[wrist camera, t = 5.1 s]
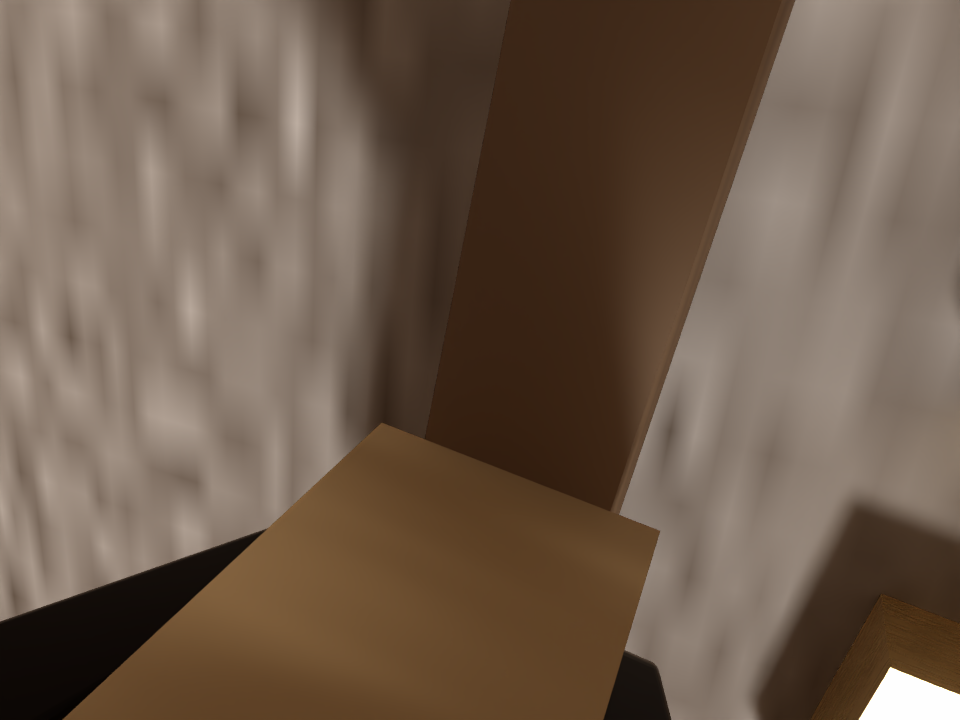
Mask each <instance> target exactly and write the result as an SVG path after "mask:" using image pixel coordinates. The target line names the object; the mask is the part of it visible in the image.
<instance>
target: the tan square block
mask: <svg viewBox="0 0 960 720" xmlns="http://www.w3.org/2000/svg"><path fill="white" fill-rule="evenodd" d="M810 720H960V624H959V623H957V622H954V621H952V620H949V619H946V618H944V617H941V616H939V615H936V614H933V613H931V612H928V611H925V610H923V609H920V608H918V607H915V606H912V605H910V604H907V603H905V602H902V601H899V600H897V599H894V598H891V597H889V596H886V595H884V594H881V595H880V597H879V598H878V600H877V602H876V604H875V606H874V607H873V609H872V611H871V613H870V614H869V616H868V618H867V620H866V622H865V623H864V625H863V627H862V629H861V630H860V632H859V634H858V636H857V638H856V639H855V641H854V643H853V645H852V646H851V648H850V650H849V652H848V654H847V655H846V657H845V659H844V661H843V662H842V664H841V666H840V668H839V670H838V671H837V673H836V675H835V677H834V678H833V680H832V682H831V684H830V686H829V687H828V689H827V691H826V693H825V694H824V696H823V698H822V700H821V702H820V703H819V705H818V707H817V709H816V710H815V712H814V714H813V716H812V718H811V719H810Z"/></svg>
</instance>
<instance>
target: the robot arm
mask: <svg viewBox="0 0 960 720" xmlns="http://www.w3.org/2000/svg"><path fill="white" fill-rule="evenodd" d="M267 529H268V528H267ZM267 529H265V530H262V531H259V532H256V533H253V534H250V535H247V536H244V537H242V538H239V539H236V540H233V541H230V542H227V543H224V544H221V545H219V546H216V547H213V548H210V549H207V550H204V551H201V552H199V553H196V554H193V555H190V556H187V557H184V558H181V559H178V560H176V561H173V562H170V563H167V564H164V565H161V566H158V567H155V568H153V569H150V570H147V571H144V572H141V573H138V574H135V575H133V576H130V577H127V578H124V579H121V580H118V581H115V582H112V583H110V584H107V585H104V586H101V587H98V588H95V589H92V590H89V591H87V592H84V593H81V594H78V595H75V596H72V597H69V598H67V599H64V600H61V601H58V602H55V603H52V604H49V605H46V606H44V607H41V608H38V609H35V610H32V611H29V612H26V613H24V614H21V615H18V616H15V617H12V618H9V619H6V620H3V621H1V622H0V720H63V719H64V718H65V717H66V716H67V715H68V714H69V713H70V712H71V711H72V710H73V709H74V708H76V707H77V706H78V705H79V704H80V703H81V702H82V701H83V700H84V699H85V698H86V697H87V696H88V695H90V694H91V693H92V692H93V691H94V690H95V689H96V688H97V687H98V686H99V685H100V684H101V683H102V682H104V681H105V680H106V679H107V678H108V677H109V676H110V675H111V674H112V673H113V672H114V671H115V670H116V669H117V668H119V667H120V666H121V665H122V664H123V663H124V662H125V661H126V660H127V659H128V658H129V657H130V656H131V655H133V654H134V653H135V652H136V651H137V650H138V649H139V648H140V647H141V646H142V645H143V644H144V643H145V642H147V641H148V640H149V639H150V638H151V637H152V636H153V635H154V634H155V633H156V632H157V631H158V630H159V629H160V628H162V627H163V626H164V625H165V624H166V623H167V622H168V621H169V620H170V619H171V618H172V617H173V616H174V615H176V614H177V613H178V612H179V611H180V610H181V609H182V608H183V607H184V606H185V605H186V604H187V603H188V602H189V601H191V600H192V599H193V598H194V597H195V596H196V595H197V594H198V593H199V592H200V591H201V590H202V589H203V588H205V587H206V586H207V585H208V584H209V583H210V582H211V581H212V580H213V579H214V578H215V577H216V576H217V575H219V574H220V573H221V572H222V571H223V570H224V569H225V568H226V567H227V566H228V565H229V564H230V563H231V562H232V561H234V560H235V559H236V558H237V557H238V556H239V555H240V554H241V553H242V552H243V551H244V550H245V549H246V548H248V547H249V546H250V545H251V544H252V543H253V542H254V541H255V540H256V539H257V538H258V537H259V536H260V535H262V534H263V533H264V532H265V531H266V530H267ZM603 720H671V716H670V712H669V708H668V705H667V701H666V697H665V693H664V689H663V685H662V681H661V677H660V674H659V670H658V668H657V666H656V665H655V664H654V663H653V662H651V661H648V660H646V659H644V658H641V657H639V656H637V655H634V654H632V653H630V652H628V651H625V650H624V653H623V656H622V659H621V663H620V666H619V669H618V673H617V676H616V679H615V683H614V686H613V689H612V693H611V696H610V699H609V703H608V706H607V709H606V713H605V716H604V719H603Z"/></svg>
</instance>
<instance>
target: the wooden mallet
mask: <svg viewBox="0 0 960 720" xmlns="http://www.w3.org/2000/svg"><path fill="white" fill-rule="evenodd" d="M794 2H795V0H511V2H510V7H509V12H508V17H507V22H506V27H505V33H504V38H503V43H502V48H501V53H500V58H499V63H498V68H497V73H496V78H495V84H494V89H493V94H492V99H491V104H490V109H489V114H488V119H487V124H486V129H485V135H484V140H483V145H482V150H481V155H480V160H479V165H478V170H477V175H476V180H475V186H474V191H473V196H472V201H471V206H470V211H469V216H468V221H467V226H466V231H465V237H464V242H463V247H462V252H461V257H460V262H459V267H458V272H457V277H456V282H455V288H454V293H453V298H452V303H451V308H450V313H449V318H448V323H447V328H446V333H445V339H444V344H443V349H442V354H441V359H440V364H439V369H438V374H437V379H436V384H435V390H434V395H433V400H432V405H431V410H430V415H429V420H428V425H427V430H426V436H425V439H422V438H420V437H417V436H415V435H412V434H410V433H407V432H404V431H402V430H399V429H397V428H394V427H392V426H389V425H386V424H384V423H381V424H380V425H379V426H378V427H377V428H375V429H374V430H373V431H372V432H371V433H370V434H369V435H368V436H367V437H366V438H365V439H364V440H363V441H361V442H360V443H359V444H358V445H357V446H356V447H355V448H354V449H353V450H352V451H351V452H350V453H349V454H347V455H346V456H345V457H344V458H343V459H342V460H341V461H340V462H339V463H338V464H337V465H336V466H335V467H334V468H332V469H331V470H330V471H329V472H328V473H327V474H326V475H325V476H324V477H323V478H322V479H321V480H320V481H318V482H317V483H316V484H315V485H314V486H313V487H312V488H311V489H310V490H309V491H308V492H307V493H306V494H304V495H303V496H302V497H301V498H300V499H299V500H298V501H297V502H296V503H295V504H294V505H293V506H292V507H291V508H289V509H288V510H287V511H286V512H285V513H284V514H283V515H282V516H281V517H280V518H279V519H278V520H277V521H275V522H274V523H273V524H272V525H271V526H270V527H269V528H268V529H267V530H266V531H265V532H264V533H263V534H262V535H260V536H259V537H258V538H257V539H256V540H255V541H254V542H253V543H252V544H251V545H250V546H249V547H248V548H246V549H245V550H244V551H243V552H242V553H241V554H240V555H239V556H238V557H237V558H236V559H235V560H234V561H232V562H231V563H230V564H229V565H228V566H227V567H226V568H225V569H224V570H223V571H222V572H221V573H220V574H219V575H217V576H216V577H215V578H214V579H213V580H212V581H211V582H210V583H209V584H208V585H207V586H206V587H205V588H203V589H202V590H201V591H200V592H199V593H198V594H197V595H196V596H195V597H194V598H193V599H192V600H191V601H189V602H188V603H187V604H186V605H185V606H184V607H183V608H182V609H181V610H180V611H179V612H178V613H177V614H176V615H174V616H173V617H172V618H171V619H170V620H169V621H168V622H167V623H166V624H165V625H164V626H163V627H162V628H160V629H159V630H158V631H157V632H156V633H155V634H154V635H153V636H152V637H151V638H150V639H149V640H148V641H147V642H145V643H144V644H143V645H142V646H141V647H140V648H139V649H138V650H137V651H136V652H135V653H134V654H133V655H131V656H130V657H129V658H128V659H127V660H126V661H125V662H124V663H123V664H122V665H121V666H120V667H119V668H117V669H116V670H115V671H114V672H113V673H112V674H111V675H110V676H109V677H108V678H107V679H106V680H105V681H104V682H102V683H101V684H100V685H99V686H98V687H97V688H96V689H95V690H94V691H93V692H92V693H91V694H90V695H88V696H87V697H86V698H85V699H84V700H83V701H82V702H81V703H80V704H79V705H78V706H77V707H76V708H74V709H73V710H72V711H71V712H70V713H69V714H68V715H67V716H66V717H65V718H64V719H63V720H603V719H604V716H605V713H606V709H607V706H608V703H609V699H610V696H611V693H612V689H613V686H614V683H615V679H616V676H617V673H618V669H619V666H620V663H621V659H622V656H623V653H624V650H625V646H626V643H627V640H628V636H629V633H630V630H631V626H632V623H633V620H634V616H635V613H636V610H637V606H638V603H639V600H640V596H641V593H642V590H643V586H644V583H645V580H646V576H647V573H648V570H649V566H650V563H651V560H652V556H653V553H654V550H655V546H656V543H657V540H658V536H659V533H660V531H659V530H656V529H654V528H651V527H649V526H646V525H643V524H641V523H638V522H636V521H633V520H631V519H628V518H625V517H623V516H620V515H619V513H620V510H621V507H622V504H623V501H624V498H625V495H626V492H627V489H628V487H629V484H630V481H631V478H632V475H633V472H634V469H635V466H636V463H637V460H638V457H639V454H640V452H641V449H642V446H643V443H644V440H645V437H646V434H647V431H648V428H649V425H650V422H651V419H652V417H653V414H654V411H655V408H656V405H657V402H658V399H659V396H660V393H661V390H662V387H663V384H664V382H665V379H666V376H667V373H668V370H669V367H670V364H671V361H672V358H673V355H674V352H675V349H676V347H677V344H678V341H679V338H680V335H681V332H682V329H683V326H684V323H685V320H686V317H687V314H688V312H689V309H690V306H691V303H692V300H693V297H694V294H695V291H696V288H697V285H698V282H699V279H700V277H701V274H702V271H703V268H704V265H705V262H706V259H707V256H708V253H709V250H710V247H711V244H712V242H713V239H714V236H715V233H716V230H717V227H718V224H719V221H720V218H721V215H722V212H723V209H724V207H725V204H726V201H727V198H728V195H729V192H730V189H731V186H732V183H733V180H734V177H735V174H736V172H737V169H738V166H739V163H740V160H741V157H742V154H743V151H744V148H745V145H746V142H747V139H748V137H749V134H750V131H751V128H752V125H753V122H754V119H755V116H756V113H757V110H758V107H759V104H760V102H761V99H762V96H763V93H764V90H765V87H766V84H767V81H768V78H769V75H770V72H771V69H772V67H773V64H774V61H775V58H776V55H777V52H778V49H779V46H780V43H781V40H782V37H783V34H784V32H785V29H786V26H787V23H788V20H789V17H790V14H791V11H792V8H793V5H794Z"/></svg>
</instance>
